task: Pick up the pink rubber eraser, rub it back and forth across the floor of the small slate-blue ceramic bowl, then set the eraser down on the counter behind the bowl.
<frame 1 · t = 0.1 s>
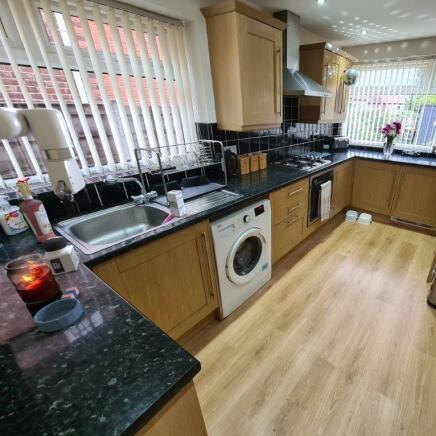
hand: (79, 208, 78), 28 cm above the countertop, tool pointing down, fingers open, 9 cm apart
eraser: (71, 298, 80), on the countertop
container: (65, 268, 95), on the countertop
liquor: (47, 240, 117), on the countertop
bowl: (62, 319, 72), on the countertop
syrup box: (179, 215, 146), on the countertop
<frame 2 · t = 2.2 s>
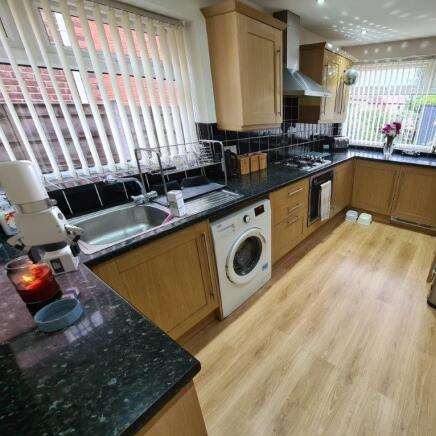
hand: (58, 258, 75), 15 cm above the countertop, tool pointing down, fingers open, 9 cm apart
nothing on the countertop moved.
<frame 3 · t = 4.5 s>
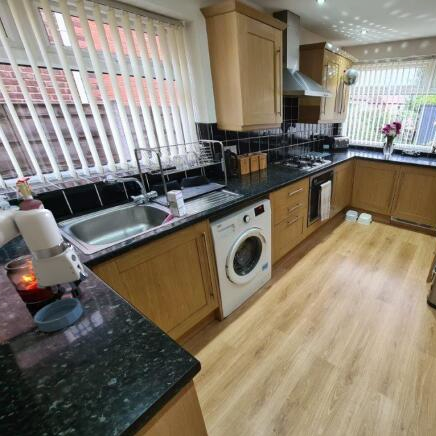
hand: (71, 298, 80), 0 cm above the countertop, tool pointing down, fingers closed on eraser, 2 cm apart
eraser: (71, 298, 80), on the countertop, touching gripper
everything else where it was.
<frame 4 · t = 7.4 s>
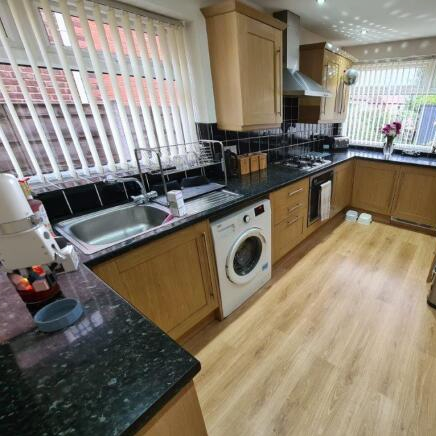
hand: (46, 284, 67), 12 cm above the countertop, tool pointing down, fingers closed on eraser, 2 cm apart
eraser: (46, 285, 67), point 12 cm above the countertop, touching gripper
everything else where it was.
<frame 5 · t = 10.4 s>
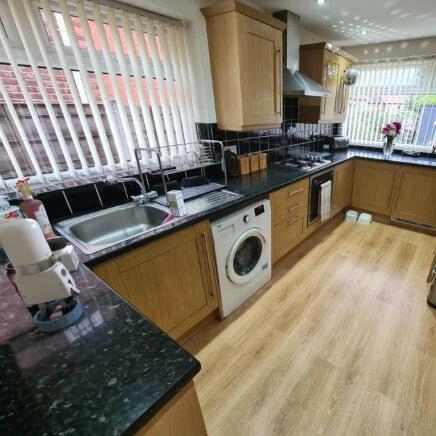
hand: (62, 316, 72), 1 cm above the countertop, tool pointing down, fingers closed on eraser, 2 cm apart
eraser: (62, 316, 72), point 1 cm above the countertop, touching gripper
everything else where it was.
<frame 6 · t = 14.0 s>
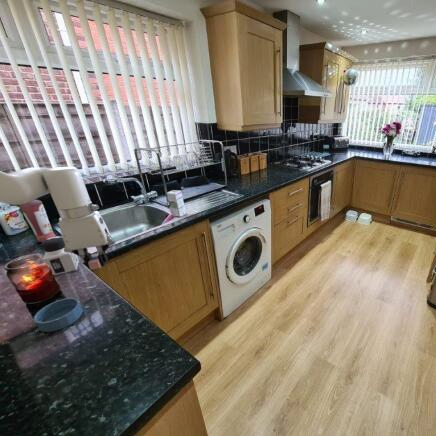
hand: (98, 264, 77), 12 cm above the countertop, tool pointing down, fingers closed on eraser, 2 cm apart
eraser: (98, 264, 77), point 12 cm above the countertop, touching gripper
everything else where it was.
when the fingers open (0 cm above the countertop, at t = 16.5 s): eraser stays where it is, on the countertop.
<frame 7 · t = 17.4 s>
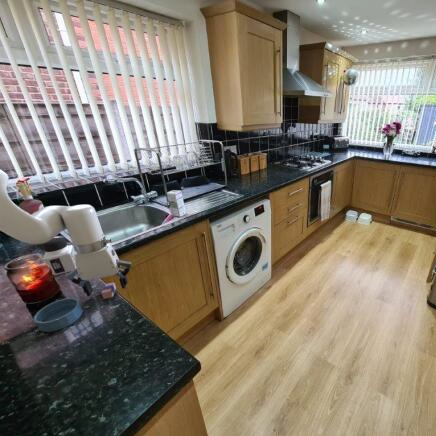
hand: (107, 289, 81), 2 cm above the countertop, tool pointing down, fingers open, 9 cm apart
eraser: (110, 293, 82), on the countertop
everything else where it was.
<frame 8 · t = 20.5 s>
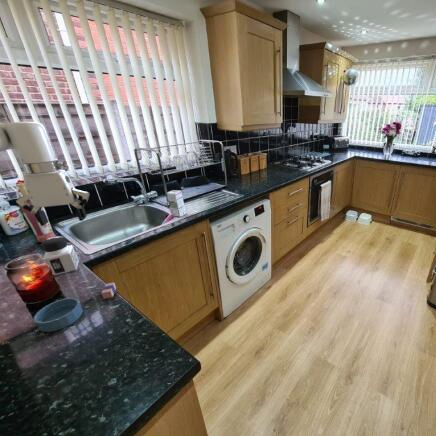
hand: (64, 221, 77), 24 cm above the countertop, tool pointing down, fingers open, 9 cm apart
nothing on the countertop moved.
at the end: eraser 0.2 cm from the target spot, on the countertop; the gripper is holding nothing; eraser tilted 0° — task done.
